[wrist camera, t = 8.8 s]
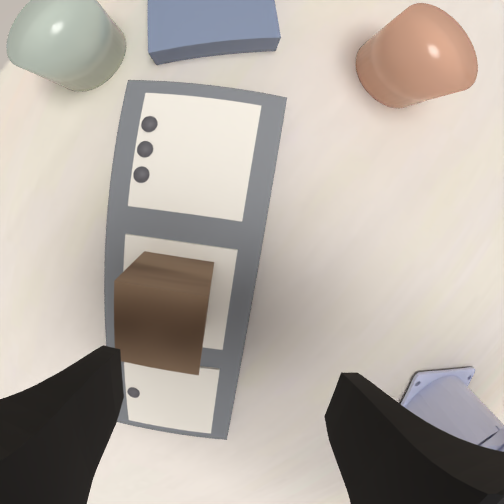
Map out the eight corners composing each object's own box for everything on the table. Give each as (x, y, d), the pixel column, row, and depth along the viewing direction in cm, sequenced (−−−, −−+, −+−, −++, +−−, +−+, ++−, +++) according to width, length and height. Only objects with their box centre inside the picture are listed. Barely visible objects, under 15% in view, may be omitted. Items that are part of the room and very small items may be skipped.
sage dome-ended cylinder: (115, 91, 15) (71, 61, 9) (50, 93, 15) (-5, 73, 9) (134, 21, 14) (103, -26, 8) (69, 27, 14) (26, -8, 8)
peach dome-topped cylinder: (418, 118, 17) (478, 106, 11) (352, 94, 16) (400, 66, 10) (421, 55, 16) (474, 30, 10) (358, 29, 15) (400, -12, 9)
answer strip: (226, 432, 22) (226, 442, 21) (117, 414, 21) (113, 423, 20) (284, 100, 16) (288, 96, 15) (132, 83, 15) (126, 78, 14)
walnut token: (205, 325, 18) (198, 375, 13) (140, 314, 18) (115, 359, 13) (214, 262, 17) (208, 296, 12) (144, 251, 17) (114, 280, 12)
